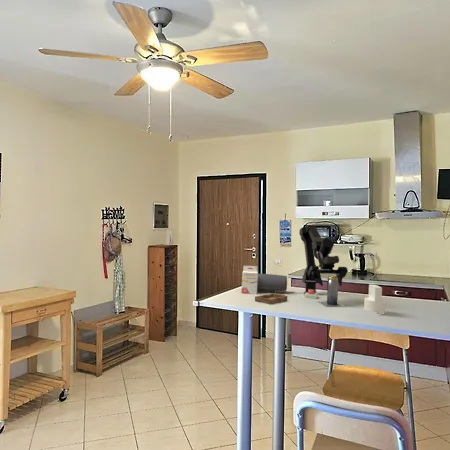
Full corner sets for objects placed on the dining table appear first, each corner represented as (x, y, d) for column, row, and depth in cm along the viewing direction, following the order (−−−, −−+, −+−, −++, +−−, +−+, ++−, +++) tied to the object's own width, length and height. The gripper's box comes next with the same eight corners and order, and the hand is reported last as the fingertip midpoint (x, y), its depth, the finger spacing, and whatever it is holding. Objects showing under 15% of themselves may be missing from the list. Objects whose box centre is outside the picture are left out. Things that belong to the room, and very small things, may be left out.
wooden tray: (272, 297, 210) (272, 293, 210) (287, 300, 203) (287, 296, 203) (254, 301, 201) (255, 296, 201) (269, 304, 194) (269, 299, 194)
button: (308, 293, 211) (308, 289, 211) (314, 293, 210) (314, 289, 210) (307, 294, 208) (307, 290, 208) (313, 294, 207) (313, 290, 207)
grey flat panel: (317, 304, 198) (317, 301, 198) (337, 304, 199) (337, 301, 199) (326, 309, 186) (326, 306, 186) (347, 309, 187) (347, 306, 187)
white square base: (306, 298, 213) (306, 292, 213) (317, 299, 211) (317, 293, 210) (304, 300, 207) (304, 294, 207) (315, 301, 205) (316, 295, 205)
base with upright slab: (361, 310, 187) (362, 284, 187) (380, 310, 187) (381, 284, 187) (367, 314, 178) (368, 287, 178) (388, 315, 178) (389, 288, 178)
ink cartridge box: (241, 293, 221) (242, 266, 221) (241, 291, 226) (242, 265, 226) (257, 294, 220) (257, 267, 220) (257, 292, 225) (258, 266, 225)
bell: (327, 302, 195) (328, 274, 195) (337, 303, 194) (338, 275, 193) (326, 304, 191) (327, 276, 191) (336, 305, 189) (337, 276, 189)
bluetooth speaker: (286, 291, 231) (287, 274, 231) (285, 294, 222) (286, 276, 222) (247, 288, 236) (248, 271, 236) (244, 291, 227) (245, 273, 227)
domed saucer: (273, 294, 219) (274, 292, 219) (286, 295, 217) (286, 294, 217) (270, 296, 213) (270, 295, 213) (283, 298, 210) (283, 296, 210)
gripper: (310, 249, 198) (317, 275, 187) (346, 250, 200) (355, 275, 189) (304, 264, 206) (311, 289, 195) (340, 264, 208) (348, 289, 197)
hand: (331, 285), depth 194 cm, fingers open, 9 cm apart
